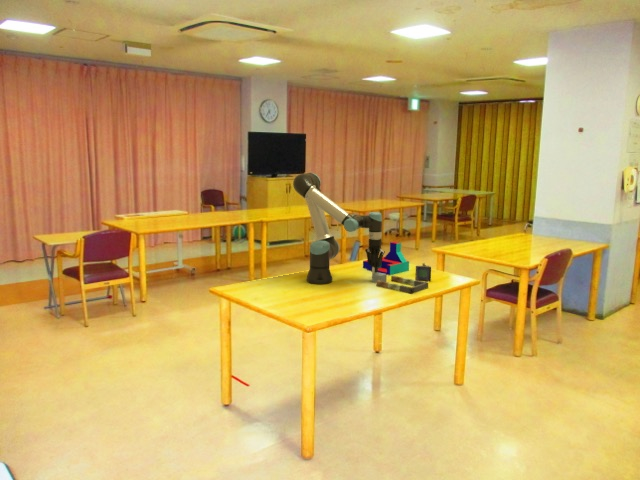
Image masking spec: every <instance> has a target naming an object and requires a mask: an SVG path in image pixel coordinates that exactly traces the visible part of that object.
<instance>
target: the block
mask: <svg viewBox="0 0 640 480" xmlns="http://www.w3.org/2000/svg"><path fill="white" fill-rule="evenodd" d="M387 276H388V275H387V274H384V273H379V272H377V273H374V274H372V273H371V277H372V279H371V282H372V283H374V284H376V281H378V280H380V281H384V282H387V280H388V277H387Z"/></svg>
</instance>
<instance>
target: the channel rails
mask: <svg viewBox="0 0 640 480" xmlns="http://www.w3.org/2000/svg"><path fill="white" fill-rule="evenodd" d="M390 277H391V279H390V280H391V282H388V281H386V282H384V281H380V280H378V281H376V283H375V285H376V287H378V288H379V287H380V288H384V289H388V290H393V291H396V292H397V291H398V292H401V291H400V286H401V285H402V284H403V285H406V286H411V287H414V281H416V280H415V279H413V278H407V277H402V276H397V275H390ZM392 282H394V283H392ZM399 283H400V284H399Z"/></svg>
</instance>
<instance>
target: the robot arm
mask: <svg viewBox="0 0 640 480" xmlns="http://www.w3.org/2000/svg"><path fill="white" fill-rule="evenodd" d="M321 184H322V182H321V179H320V176H318V174H315V173H314V172H306V173H300V174H298V175H296V176H295V177H294V178H293V183H292V186H293V189H294V191H295V192H296V193H298V195H299V196H301V197H302V198H303V199H305V201H306V204H307V208H308V211H309V214H310V218H311V222H312V225H313V228H314V232H315V236H316V238H315V241H312V242H311V243H310V245H309V270H308V274H307V275H306V282H307V283H309V284H312V283H313V285H326V284H331V283H332V282H333V277H332V274H331V270H330V260H332V259H334V258H336V256H337V255H338V254H339V253H340V244H339V242H338V241H337V240H336V239H335V235H334V234H332V233H331V230H330V228H329V223H328V221H327V217H326V214H327V215H328V216H330V217H332V218H333V219H334V220H335V221H337V223H340V224H341V225H342V226H343V229H345V231H347V232H350V233H353V232H355V231H357V230H359V229H368V247H367V248H365V253H366V260H368V265H370V266H371V271H370V272H371V275H372V274H374V273H378V267H379V266H381V263H382V259H383V257H384V255H385V253H386V252H385V251H384V250H383V249H382V237H383V233H382V232H383V231H382V229H383V225H382V224H383V216H382V213H381V212H379V211H378V212H376V211H375V212H374V211H372V212H371V211H370V212H369V214H368V215H365V214H364V215H362V214H351V213H350V212H348V211H347V210H345V209H344V208H342V206H340V205H339V204H337V203H336V202H335V201H333V200H332V199H331V198H329V197H328V196H327V195H326V194H324V193H323V192H322V190H321ZM325 213H326V214H325Z"/></svg>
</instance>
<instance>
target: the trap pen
mask: <svg viewBox="0 0 640 480" xmlns="http://www.w3.org/2000/svg"><path fill="white" fill-rule="evenodd" d="M400 285H401V286H400V291H399V292H402V293H407V294H411V295H412V294H415V293H418V292H421V291H424V290H426V289H428V288H429V282H428V281H419V280H418V281H417V280H416V281H414V286H409V285H404V284H403V285H402V284H400Z"/></svg>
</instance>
